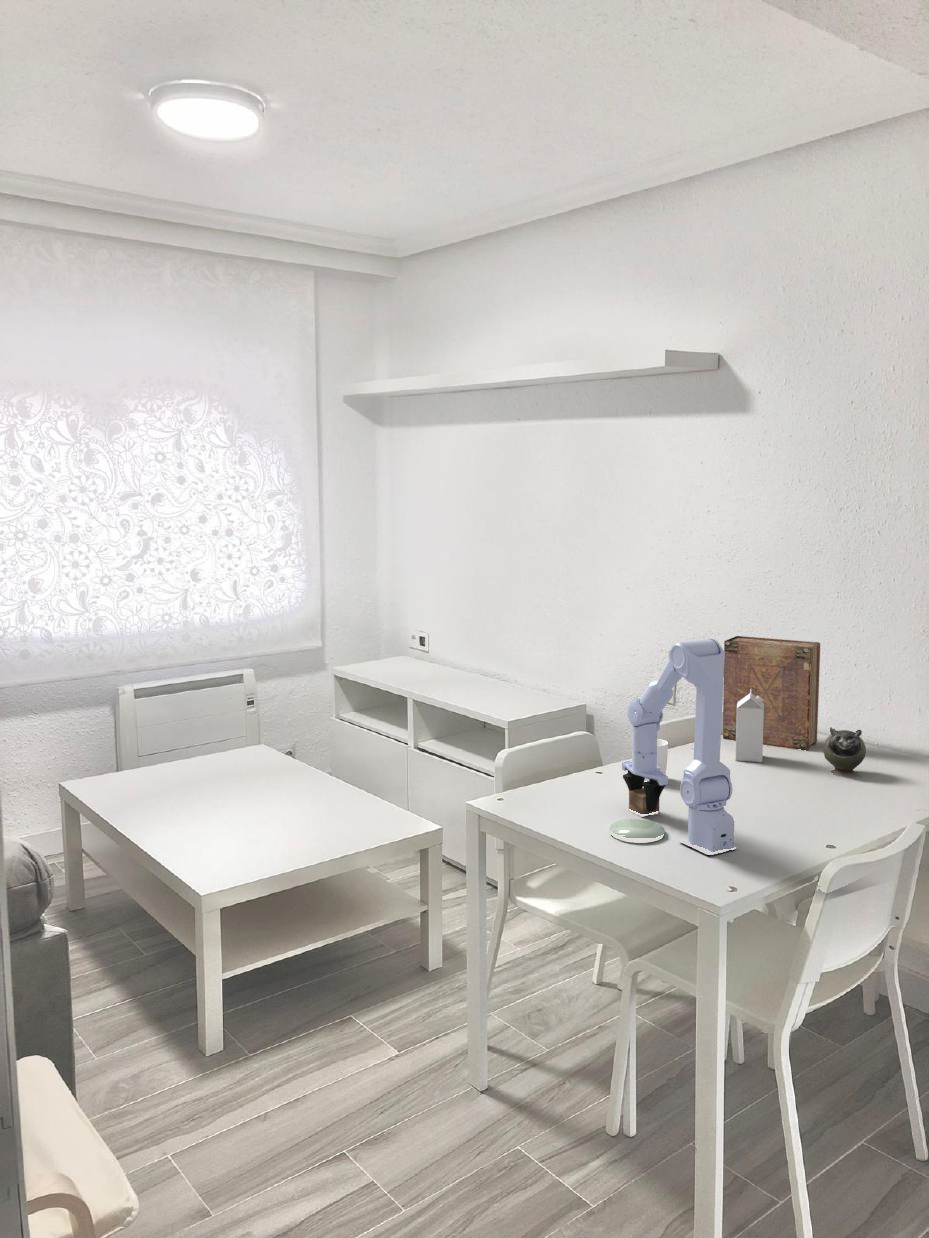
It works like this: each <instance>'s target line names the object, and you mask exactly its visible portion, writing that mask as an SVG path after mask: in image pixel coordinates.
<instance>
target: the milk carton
mask: <svg viewBox="0 0 929 1238" xmlns="http://www.w3.org/2000/svg"><path fill="white" fill-rule="evenodd" d="M762 702H763V699H762V698H761V697H759V696H754V695H753V694H752V693H751V690H750V694H748V695H747V696H745V697H744V698H743V699H741V700H740V701H739V702H738V703H737V720H736V740H735V761H737V762H738V761H739V762H753V763H754V762H755V763H762V762H763V757H764V756H763V751H764V750H763V749H764V748H763V747H764V744H763V721H764V704H763V703H762Z"/></svg>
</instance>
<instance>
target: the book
mask: <svg viewBox="0 0 929 1238" xmlns="http://www.w3.org/2000/svg"><path fill="white" fill-rule="evenodd" d="M723 650H724V652H725V662H724V678H723V703H722V738H723V739H725V740H733V741H736V720H737V703H738V702H739V701H740V700H741V699H743V698H744V697H745V696H747V695H748V694H750V690H751V693H752V694H753V695H754V696H759V697H761V698H762V699H763V702H762V703H763V704H764V721H763V746H765V745H766V746H772V747H777V748H778V747H780V748H784V749H793V750H798V749H801V750H800V751H804V750H806V752H809V750H810V746H812V745H814V744H815V745H816V744H817V743H818V723H819V698H820V696H819V694H820V692H819V691H820V669H821V668H820V666H821V664H820V663H821V643H820V642H818V641H807V640H793V639H782V638H781V639H780V638H768V637H767V638H765V637H754V636H745V635H743V636H742V635H741V636H740V635H736V636H734V637H730V638H729V639H726V640H724V647H723ZM813 743H814V744H813Z"/></svg>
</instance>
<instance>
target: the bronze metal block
mask: <svg viewBox="0 0 929 1238" xmlns="http://www.w3.org/2000/svg"><path fill="white" fill-rule="evenodd" d="M629 809H631V810H633V811H636V812H638V813H640V814H649V813H652V812H656V811H659V812H660V799H659V800H658V804H657V808H656V810H654V811H647V806H646V795H645V790H644V787H643V788H642V789H637V790H632V791H629V790H628V810H629Z"/></svg>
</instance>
